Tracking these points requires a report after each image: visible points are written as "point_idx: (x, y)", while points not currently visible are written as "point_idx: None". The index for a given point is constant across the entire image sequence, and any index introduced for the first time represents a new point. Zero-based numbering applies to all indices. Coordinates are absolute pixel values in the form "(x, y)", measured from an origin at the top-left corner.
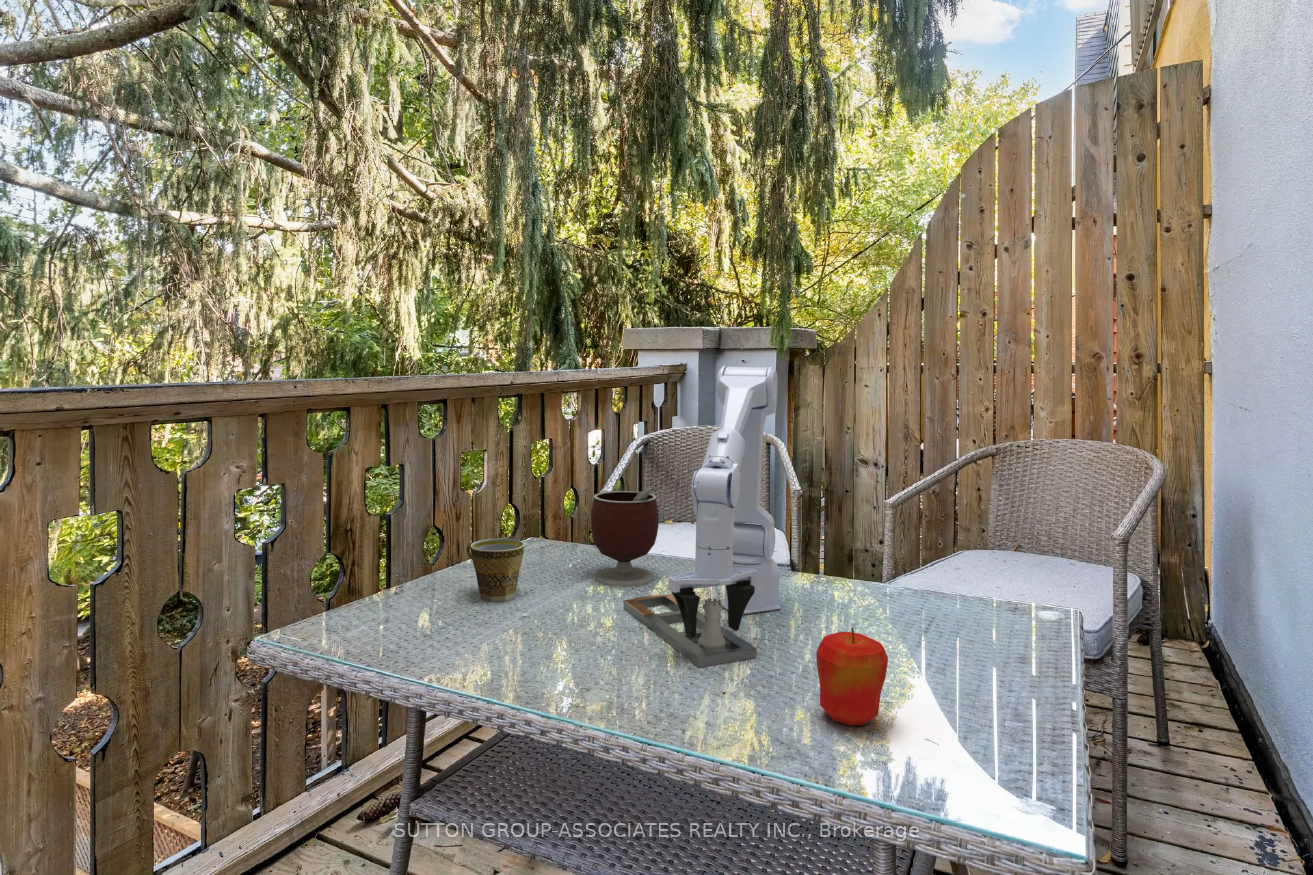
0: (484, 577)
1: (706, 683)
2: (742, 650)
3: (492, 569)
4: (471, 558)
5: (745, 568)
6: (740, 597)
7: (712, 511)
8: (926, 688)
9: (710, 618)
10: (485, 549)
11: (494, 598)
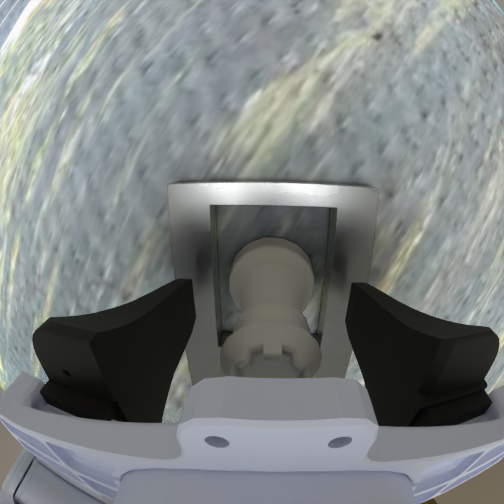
0: None
1: (395, 93)
2: (218, 182)
3: (430, 500)
4: None
5: (43, 459)
6: (127, 334)
7: None
8: (26, 8)
9: (299, 314)
10: None
11: None
